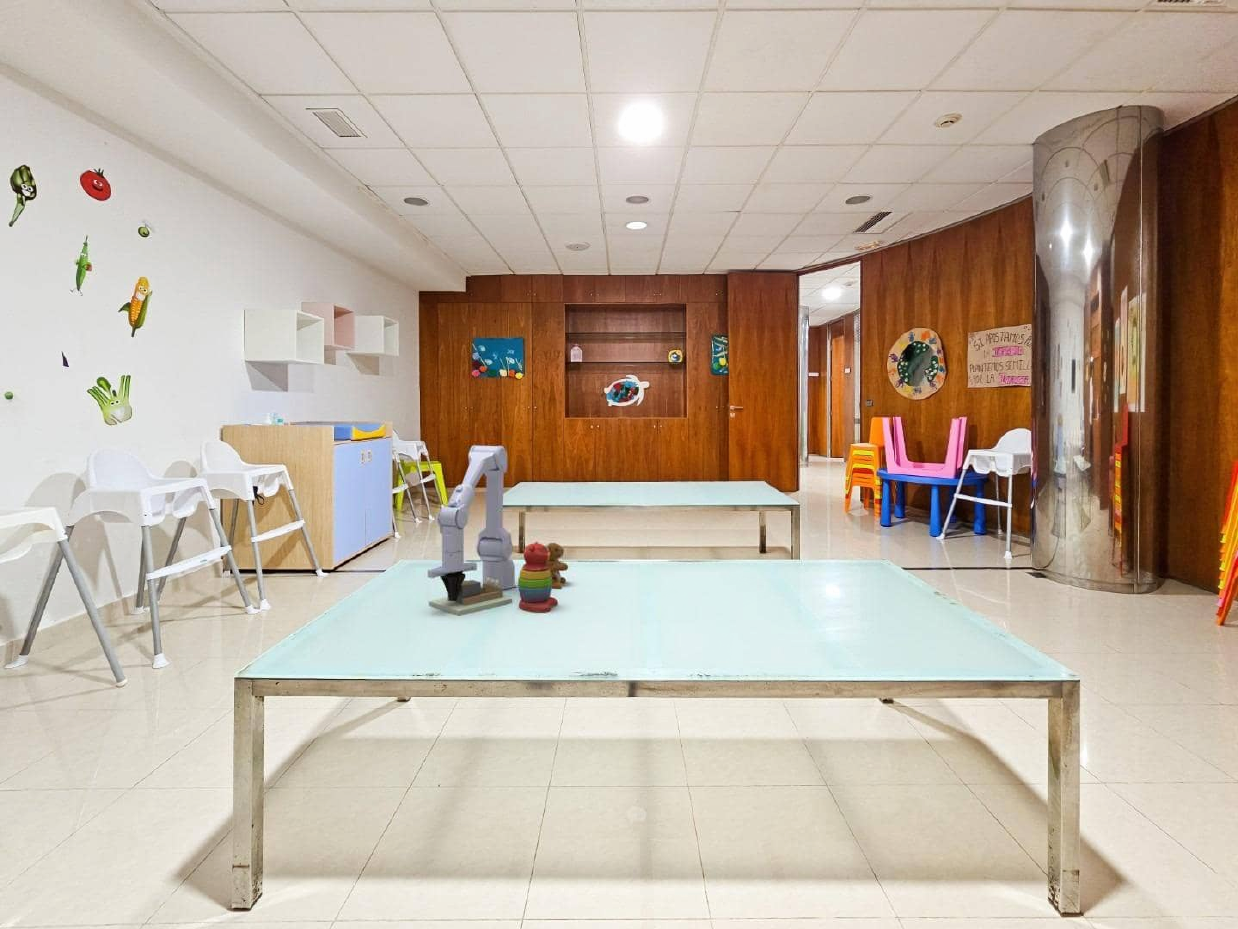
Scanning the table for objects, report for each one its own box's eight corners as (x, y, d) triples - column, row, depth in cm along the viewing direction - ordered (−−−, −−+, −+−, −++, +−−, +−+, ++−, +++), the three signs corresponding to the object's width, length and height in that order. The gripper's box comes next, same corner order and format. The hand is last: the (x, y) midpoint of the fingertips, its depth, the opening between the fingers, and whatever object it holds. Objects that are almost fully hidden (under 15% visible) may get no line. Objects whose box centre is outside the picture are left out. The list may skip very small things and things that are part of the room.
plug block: (472, 597, 198) (472, 577, 197) (480, 600, 195) (480, 579, 195) (454, 601, 193) (454, 580, 193) (462, 604, 190) (462, 583, 190)
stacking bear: (548, 613, 187) (548, 547, 186) (512, 611, 189) (512, 545, 188) (559, 603, 197) (559, 540, 196) (525, 600, 199) (525, 539, 198)
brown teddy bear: (562, 589, 213) (563, 546, 212) (518, 586, 216) (518, 544, 215) (571, 582, 223) (571, 541, 222) (529, 579, 226) (529, 539, 225)
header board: (481, 593, 206) (481, 574, 206) (512, 602, 197) (512, 582, 197) (428, 605, 193) (428, 584, 193) (458, 615, 184) (458, 593, 183)
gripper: (466, 545, 198) (466, 592, 199) (421, 552, 187) (421, 602, 188) (481, 548, 193) (481, 597, 194) (436, 555, 182) (436, 607, 183)
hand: (452, 600), depth 190 cm, fingers closed
